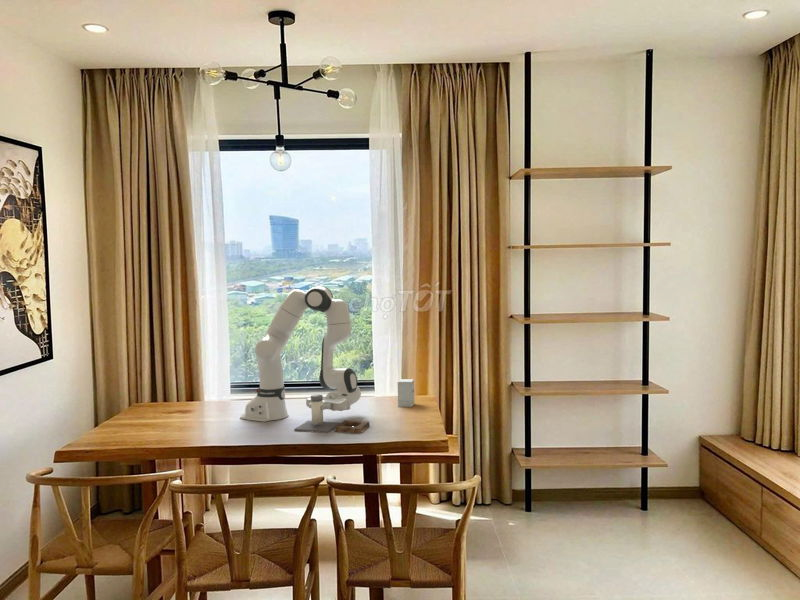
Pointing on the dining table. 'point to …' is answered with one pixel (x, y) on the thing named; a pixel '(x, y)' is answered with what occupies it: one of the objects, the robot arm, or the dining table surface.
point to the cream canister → (317, 409)
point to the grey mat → (317, 426)
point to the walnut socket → (347, 426)
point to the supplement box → (405, 392)
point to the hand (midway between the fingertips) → (315, 407)
